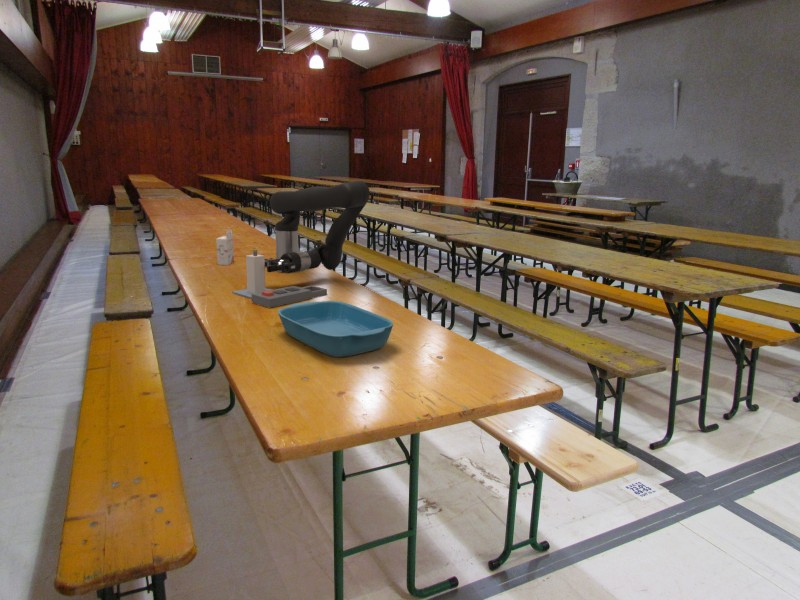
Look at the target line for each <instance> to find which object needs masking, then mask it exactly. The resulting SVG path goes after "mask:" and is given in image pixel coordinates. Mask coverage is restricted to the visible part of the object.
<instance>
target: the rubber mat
mask: <svg viewBox="0 0 800 600" xmlns="http://www.w3.org/2000/svg"><path fill="white" fill-rule="evenodd" d="M270 290H272V289H271V288H267V287H265V291H270ZM231 293H232V294H233V293H234V295H236V294H237V296H240V295H241V296H240V297H243V296H244V297H243V298H247V297H248V298H247V299H250V298H252V294H253V293H250V292H247V288H244V289H239V290H238V289H237V290H234V291H232V292H231Z"/></svg>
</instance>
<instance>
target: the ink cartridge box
mask: <svg viewBox="0 0 800 600" xmlns="http://www.w3.org/2000/svg"><path fill="white" fill-rule="evenodd" d="M233 234H234V233H233V230H232V229H230V230H227V231H226V232H225V235H222V236H219V237H217V238H216V239H215V241H216V255H217V257H216V258H217V265H218V266H230V265H231V264H232V262H233V263H234V262H235V256H234V253H235V251H234V235H233ZM229 264H230V265H229Z"/></svg>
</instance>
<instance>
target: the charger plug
mask: <svg viewBox="0 0 800 600" xmlns="http://www.w3.org/2000/svg"><path fill="white" fill-rule="evenodd" d="M245 257H246V259H245V261H246V285H247V286H246V289H247V292H250V293H253V294H254V293H259V292H264V291H265V288H266V271H265V270H266V268H265V259H266V258H265V255H262V254H258V249H253V250H252V254H248V255H247V254H246V256H245Z"/></svg>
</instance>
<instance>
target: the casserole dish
mask: <svg viewBox="0 0 800 600" xmlns="http://www.w3.org/2000/svg"><path fill="white" fill-rule="evenodd" d="M277 315H278V316H279V319H280V322H281V324H282V327H283V329H284V330H285V333H287V334H288V335H289V336H290V337H292V338H294V339H295V340H297V341H299V342H301V343H303V344H305V345H307V346H309V347H310V348H312V347H313V349H314V348H315V349H314V350H316V349H317V350H316V351H319V352H321V353H323V354H326V355H328V356H331V357H336V358H343V357H350V356H354V355H355V356H356V355H359V354H362V353H364V354H365V353H367V352H371V351H372V352H373V351H376V350H378V349H380V348H382V347H383V346H384V345H385V344H387V341H388V340H389V338H390V336H391V332H392V330H393V327H394V322H393V321H392V320H391V319H389V318H386V317H384V316H382V315H379V314H377V313H374V312H371V311H369V310H366V309H364V308H361V307H358V306H357V305H353V304H352V303H351V304H350V303H347V302H343V301H337V300H322V301H320V300H319V301H305V302H299V303H298V302H297V303H292V304H289V306H286V307H281V308H280V309H278V310H277Z"/></svg>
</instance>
